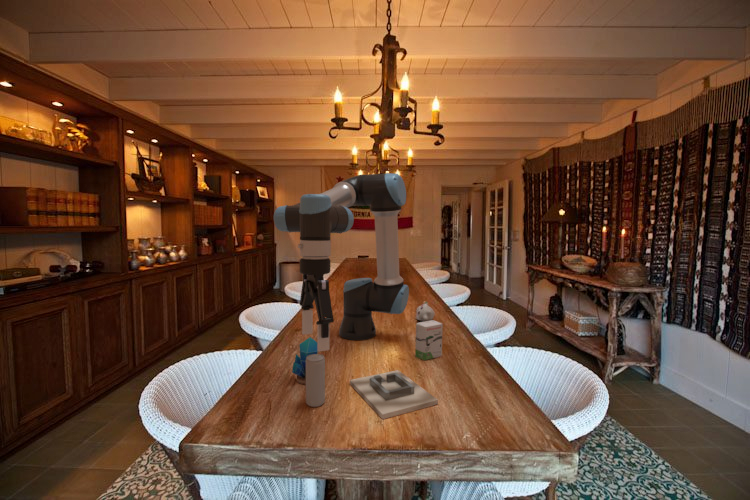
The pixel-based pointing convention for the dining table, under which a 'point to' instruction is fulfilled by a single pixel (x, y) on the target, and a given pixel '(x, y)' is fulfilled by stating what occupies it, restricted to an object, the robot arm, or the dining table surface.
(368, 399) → the holder board
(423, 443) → the dining table surface
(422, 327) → the ink box
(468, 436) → the dining table surface
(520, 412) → the dining table surface
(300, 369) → the gemstone
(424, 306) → the pale grey lumpy bulb
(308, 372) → the beverage can
